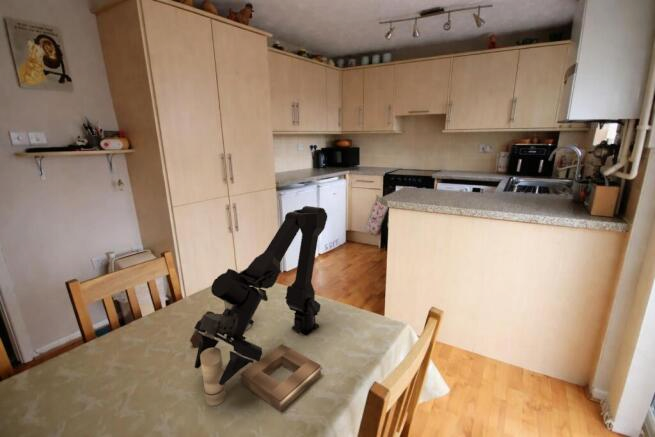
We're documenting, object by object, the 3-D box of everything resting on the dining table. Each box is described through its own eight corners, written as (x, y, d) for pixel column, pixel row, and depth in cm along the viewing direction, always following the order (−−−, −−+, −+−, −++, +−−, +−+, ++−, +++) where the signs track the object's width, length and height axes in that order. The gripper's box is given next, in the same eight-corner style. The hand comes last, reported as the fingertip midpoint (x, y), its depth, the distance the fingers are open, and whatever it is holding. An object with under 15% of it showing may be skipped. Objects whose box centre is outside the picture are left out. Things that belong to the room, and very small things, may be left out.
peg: (219, 387, 76) (213, 344, 73) (230, 396, 73) (225, 352, 70) (202, 399, 72) (195, 355, 69) (212, 409, 70) (206, 363, 67)
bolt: (213, 324, 106) (203, 351, 91) (199, 318, 105) (187, 345, 90) (221, 309, 105) (212, 334, 91) (207, 304, 104) (195, 328, 90)
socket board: (281, 352, 88) (281, 342, 87) (322, 375, 79) (322, 365, 78) (239, 382, 77) (238, 372, 76) (281, 413, 68) (281, 402, 67)
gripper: (196, 288, 75) (157, 352, 69) (248, 311, 65) (207, 389, 59) (226, 304, 84) (194, 362, 77) (276, 326, 73) (243, 396, 67)
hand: (207, 376), depth 70 cm, fingers open, 9 cm apart
